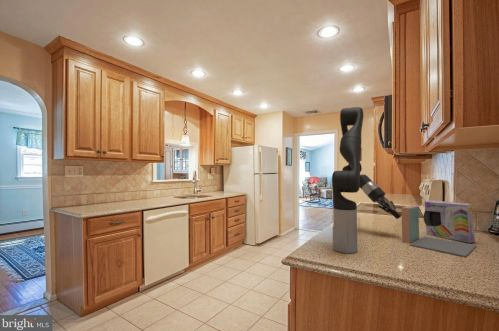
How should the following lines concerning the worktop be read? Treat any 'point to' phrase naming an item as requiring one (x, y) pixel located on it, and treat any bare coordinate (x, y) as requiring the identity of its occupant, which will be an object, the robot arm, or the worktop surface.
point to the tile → (410, 223)
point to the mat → (444, 246)
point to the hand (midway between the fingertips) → (399, 217)
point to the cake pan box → (449, 220)
